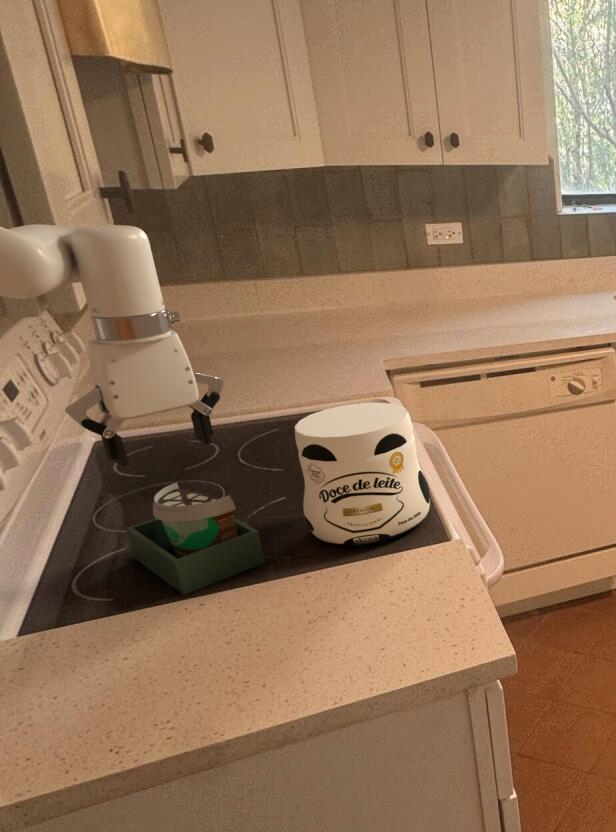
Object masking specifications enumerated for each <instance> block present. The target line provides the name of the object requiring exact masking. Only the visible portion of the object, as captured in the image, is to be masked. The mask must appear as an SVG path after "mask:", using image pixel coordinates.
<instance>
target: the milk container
mask: <svg viewBox="0 0 616 832" xmlns="http://www.w3.org/2000/svg"><path fill="white" fill-rule="evenodd" d="M294 440H295V444H296V447H297V451H298V460H299V464H300V467H301V470H302V475H303V480H304V491H303V492H304V493H303V503H302V504H303V515H304V518H305V521H306V523H307V526H308V528H309V531H310V532H311V534H312V535H313V536H314V537H315V538H316V539H318V540H319V541H321V542H324V543H326V544H328V545H333V546H335V545H336V546H341V547H360V546H361V547H363V546H368V545H372V544H373V545H374V544H379V543H384V542H387V541H389V540H393V539H395V538H398V537H401V536H403V535H405V534H407V533H408V532H410V531H412V530H414V529H415V528H416V527H417V526H419V525H420V524H421V523H422V522H423V521H424V520H425V519H426V517H427V516H428V513H429V511H430V505H431V492H430V486H429V483H428V481H427V478H426V476H425V474H424V472H423V469H422V468H421V466H420V463H419V459H418V452H417V446H416V437H415V435H414V426H413V422H412V419H411V416H410V413H409V411H408V410H407V409H406V407H405V406H402V405H399V404H396V403H389V402H361V403H353V404H344V405H339V406H334V407H331V408H326V409H322V410H320V411H317V412H314V413H311V414H308V415H307V416H305V417H303V418H301V419H300V420H298V421H297V423H296V424H295V425H294Z"/></svg>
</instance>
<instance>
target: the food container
mask: <svg viewBox="0 0 616 832" xmlns="http://www.w3.org/2000/svg"><path fill="white" fill-rule="evenodd" d="M153 498H154V499H153V501H152V515H153V518H154V519H156V518H157V519H159V520H162V522H163V525H164V527H165V530H166V532H167V535H168V537H169V540H170V542H171V545H172V547H173V548H172V550H173V551H174V554H175V558H177V559H179V558H181V557H184V556H187V555H190V554H192V553H195V552H198V551H200V550H203V549H206V548H209V547H211V546H214V545H217V544H219V543H222V542H225V541H228V540H230V539H233V538H236V537H238V533H237V528H236V523H235V518H236V517H235V513H234V511H235V510H237V508H236V506H235V502H234V501H233V499H232V497H231V495H230V494H229V495H226V496H224V497H221V498H218V497H215V496H213V495H210V494H208V493H205V492H202V491H191V490H185V489H181V488H179V484H178V482H174V483H172V484H168V485H167V486H165V487H164V488H162V489H160V491H158V492H156V494H155V495H154V497H153Z"/></svg>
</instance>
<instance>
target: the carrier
mask: <svg viewBox="0 0 616 832" xmlns="http://www.w3.org/2000/svg"><path fill="white" fill-rule="evenodd" d="M235 523H236V528H237V533H238V537H236V538H233V539H230V540H228V541H225V542H222V543H219V544H217V545H214V546H211V547H209V548H206V549H203V550H200V551H198V552H195V553H192V554H190V555H187V556H184V557H181V558H179V559H177V557H176V556H175V555H173V554H172V553H170V552H168V551H169V550H171V549H173V547H172V545H171V542H170V540H169V537H168V535H167V532H166V530H165V527H164V525H163V522H162V520H159V519H157V518H154V519H150V520H147V521H144V522H141V523H138V524H135V525H132V526H129V527H126V528H125V530H126V533H127V536H128V539H129V542H130V545H131V548H132V551H133V555H134V558H135V560H136V561H137V562H139V563H140V564H142V565H143V566H144V567H145V568H147V569H148V570H150V571H151V572H152V573H153V574H154V575H156V576H158V577H159V578H160V579H161V580H163V581H164V582H166V583H167V584H168V585H170V586H171V587H173V588H174V589H175V590H177V591H178V592H179V593H181V594H182V595H183V596H186V595H189V594H190V593H193V592H195V591H199V590H201V589H203V588H205V587H208V586H211V585H214V584H216V583H218V582H220V581H223V580H225V579H228V578H231V577H233V576H236V575H239V574H241V573H243V572H246V571H248V570H251V569H253V568H256V567H258V566H260V565H263V564H266V558H265V554H264V550H263V545H262V541H261V538H260V534H259V530H256V529H255V528H253V527H251V526H250V525H249V524H246V523H244V522H243V521H241V520H239V519H237V518H236V517H235Z"/></svg>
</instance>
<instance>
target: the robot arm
mask: <svg viewBox="0 0 616 832" xmlns="http://www.w3.org/2000/svg"><path fill="white" fill-rule="evenodd" d="M153 256H154V255H153V252H152V249H151V243H150V240H149V237H148V235H147V234H146V232H145V231H144V230H143V229H141V228H140V227H138V226H133V225H124V224H123V225H122V224H112V225H93V226H92V225H91V226H84V227H76V226H63V225H55V224H54V225H53V224H41V223H40V224H39V223H38V224H36V223H34V224H33V223H32V224H26V225H21V226H15V227H10V228H6V227H2V226H0V297H5V298H9V299H32V298H37V297H40V296H42V295H45V294H47V293H48V292H51V291H53V290H56V289H59V288H62V287H64V286H67V285H71V284H76V283H81V287H82V291H83V295H84V298H85V301H86V304H87V309H88V312H89V316H90V319H91V323H92V327H93V330H94V334H95V339H92V340H90V341H88V358H89V367H90V368H89V369H90V376H91V381H92V387H93V389H92V390H90V391H89V392H87V393H86V394H83V396H81V397H79V398H78V399H76V400H75V401H73V402H72V403H71V404H69V405H67V407H65V409H64V412H65V414H67V415H68V416H69V417H70V418H71V419H72V420H73V421H75V422H76V423H77V424H78V425H79V426H80V427H82V428H84V429H85V430H88V431H90V432H92V433H95V434H97V435H99V436H100V437H101V441H102V443H103V447H104V450H105V454H106V457H107V459H108V460H109V461H113V462H114V463H115V464H117V465H119V466H120V467H125V466H128V464H129V460H128V456H127V453H126V449H125V445H124V442H123V438H122V436H121V435H119V434H118V433H117V432H118V430H119V429H120V427H121V426H122V425H123V423H124V421H126V420H131V419H136V418H142V417H147V416H150V415H155V414H156V415H157V414H159V413H164V412H168V411H173V410H178V409H183V408H187V407H188V408H190V409H192V410H193V412H191V414H190V418H191V422H192V427H193V431H194V435H195V439H196V440H197V441H198V442H201V443H202V444H204V445H210V444H212V438H211V436H213V435H214V431H213V430H214V429H213V426H212V422H211V414H212V413H213V409H214V408H215V407H216V405H217V404H218V402H219V401H220V400H221V393H222V391H223V388H224V385H225V380H224V378H221V377H218V376H215V375H210V374H206V373H203V372H202V373H201V372H197V371H193V370H194V369H193V368H192V364H191V362H190V359H189V357H188V354H187V352H186V350H185V347H184V345H183V343H182V341H181V338H180V337H179V335H178V333H177V332H176V331H174V330H172V329H173V327H172V324H174V323H176V322H180V321H181V315H180V312H178V311H177V310H176V311H171V310H168V309H167V308H166V307H165V306H166V305H165V303H164V299H163V294H162V289H161V286H160V281H159V277H158V273H157V269H156V265H155V261H154V257H153ZM197 383H200V384H204V385H207V386H208V388H207V391H206V393H204V395H203V397H202V398H201V399H200V400H199V398H200V392H199V387H198V384H197ZM96 405H97V408H98V409H99V411H100V412H101V413H103V415H102V417H101V418H100V419H99V421H95V420H94V419H91V418H90V416H89V415H88V414H87V411H89V410H90V409H91V408H93V407H94V406H96Z"/></svg>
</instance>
